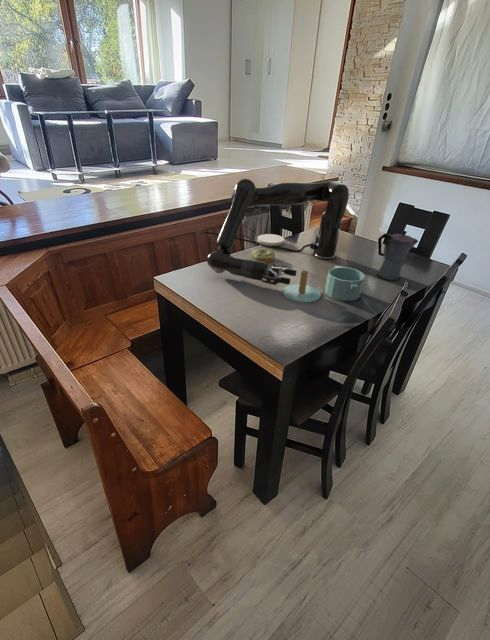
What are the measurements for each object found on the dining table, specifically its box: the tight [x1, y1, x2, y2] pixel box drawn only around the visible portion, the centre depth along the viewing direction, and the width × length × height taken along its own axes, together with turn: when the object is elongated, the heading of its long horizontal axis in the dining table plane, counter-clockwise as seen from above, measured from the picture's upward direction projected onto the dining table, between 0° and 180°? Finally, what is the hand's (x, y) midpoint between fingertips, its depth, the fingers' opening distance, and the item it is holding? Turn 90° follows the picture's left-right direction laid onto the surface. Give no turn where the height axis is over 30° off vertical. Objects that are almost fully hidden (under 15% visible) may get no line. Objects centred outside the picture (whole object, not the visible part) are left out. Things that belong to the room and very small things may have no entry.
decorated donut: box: [252, 248, 276, 264], centre depth 170 cm, size 10×11×4 cm
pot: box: [324, 265, 366, 302], centre depth 140 cm, size 14×19×8 cm
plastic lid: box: [256, 233, 285, 247], centre depth 189 cm, size 14×14×2 cm
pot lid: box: [282, 270, 322, 303], centre depth 139 cm, size 15×15×10 cm
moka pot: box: [377, 230, 419, 281], centre depth 152 cm, size 10×15×20 cm, turn 78°
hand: (293, 277), depth 139 cm, fingers open, 8 cm apart
